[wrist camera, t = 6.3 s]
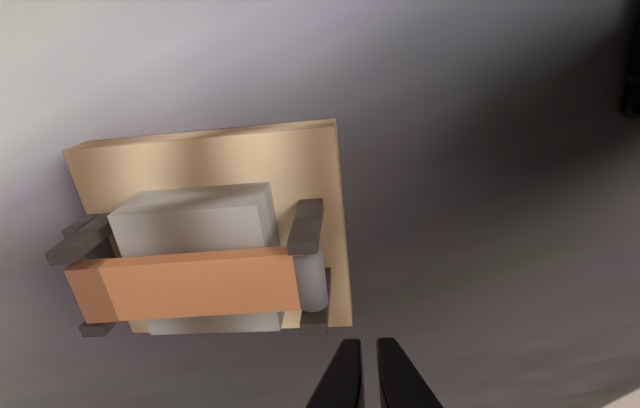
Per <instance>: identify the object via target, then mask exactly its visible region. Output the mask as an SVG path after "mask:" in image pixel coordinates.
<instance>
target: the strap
mask: <svg viewBox="0 0 640 408" xmlns="http://www.w3.org/2000/svg"><path fill="white" fill-rule="evenodd" d="M64 274H65V276H66V278H67V280H68V283H69V285H70V287H71V289H72V292H73V294H74V296H75V298H76V301H77V303H78V305H79V307H80V309H81V312H82V314H83V316H84V318H85V321H86V323H87V324H90V323H107V322H119V321H129V320H146V319H164V318H181V317H198V316H215V315H232V314H249V313H266V312H283V311H300V310H303V311H306V312H318V311H321V310H323V309H324V308H325V307H326V306H327V305H328V302H329V301H328V292H327V284H326V275H325V267H324V258H323V250H322V247H321V246H320V245H319V246H318V253H317V254H311V255H292V256H288V250H287V246H276V247H262V248H248V249H235V250H221V251H207V252H193V253H179V254H166V255H152V256H138V257H124V258H111V259H108V258H103V259H90V260H78V261H77V262H76V263H75V264H71V265H70V266H69V267H68V268H67V269H66V270H64Z"/></svg>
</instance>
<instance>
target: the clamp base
mask: <svg viewBox="0 0 640 408" xmlns="http://www.w3.org/2000/svg"><path fill="white" fill-rule="evenodd" d="M62 153H63V155H64V158H65V160H66V163H67V165H68V168H69V171H70V173H71V176H72V178H73V181H74V183H75V186H76V189H77V191H78V194H79V196H80V199H81V201H82V204H83V207H84V209H85V212H86V214H87V215H86V216H84V217H83V218H81V219H80V220H78V221H77V222H75V223H74V224H72V225H71V226H69V227H68V228H66V229H65V230H63V231H62V233H63V235H64V238H65V240H63V241H62V242H60V243H59V244H58V245H56V246H55V247H53V248H52V249H50V250H49V251H48V252H46V253H45V255H46V257H47V259H48V262H49V264H50V265H58V264H75V263H76V262H77V261H78V260H90V259H103V258H108V259H111V258H124V257H138V256H152V255H166V254H179V253H193V252H207V251H221V250H235V249H248V248H262V247H276V246H287V250H288V256H292V255H311V254H317V253H318V246H319V245H320V246H321V247H322V250H323V258H324V267H325V275H326V284H327V292H328V301H329V302H328V305H327V306H326V307H325V308H324V309H323V310H321V311H318V312H306V311H303V310H300V311H283V312H266V313H249V314H232V315H215V316H198V317H181V318H164V319H146V320H129V321H128V322H129V325H130V328H131V330H132V333H150V335H169V334H201V333H233V332H265V331H280V330H281V328H300V330H301V335H308V334H327V332H328V327H340V326H352V298H351V286H350V275H349V264H348V253H347V241H346V230H345V219H344V207H343V196H342V185H341V173H340V162H339V151H338V139H337V128H336V118H333V119H322V120H311V121H301V122H290V123H279V124H268V125H257V126H246V127H236V128H225V129H214V130H203V131H192V132H182V133H171V134H160V135H149V136H138V137H127V138H117V139H106V140H95V141H86V142H84V143H81V144H79V145H76V146H73V147H71V148H68V149H66V150H63V151H62ZM116 323H117V322H107V323H90V324H87V323H86V321H84V322H83V323H82V324H81V325H80V326H79V329H80V331H81V334H82V336H83V337H95V336H106V335H107V334H108V333H109V331H110V330H111V329H112V328H113V326H114V325H115V324H116Z"/></svg>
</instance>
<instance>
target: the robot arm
mask: <svg viewBox="0 0 640 408" xmlns="http://www.w3.org/2000/svg"><path fill="white" fill-rule="evenodd" d="M625 76H626V83H625V88H624V93H623V97H622V102H621V107H620V113H621V115H622V116H624V117H625V118H629V119H640V16H639V18H638V19H637V21H636V26H635V30H634V35H633V40H632V45H631V50H630V55H629V60H628V64H627V69H626V74H625ZM635 104H637V108H636V110H635V111H634V112H631V109H632V107H633V106H634V105H635ZM376 346H377V362H378V376H379V389H380V402H381V408H443V406H442V405H441V404H440V402H439V401H438V399H437V398H436V396H435V395H434V394H433V392H432V391H431V389H430V388H429V386H428V385H427V384H426V382H425V381H424V379H423V378H422V376H421V375H420V374H419V372H418V371H417V369H416V368H415V367H414V365H413V364H412V362H411V361H410V359H409V358H408V357H407V355H406V354H405V352H404V351H403V349H402V348H401V347H400V345H399V344H398V342H397V341H396V340H395V339H394V338H392V337H389V338H378V339H377V340H376ZM305 408H365V398H364V379H363V363H362V351H361V341H360V339H357V338H355V339H343V340H342V341H341V343H340V345H339V347H338V348H337V350H336V352H335V354H334V356H333V358H332V359H331V361H330V363H329V365H328V367H327V369H326V370H325V372H324V374H323V376H322V378H321V380H320V381H319V383H318V385H317V387H316V389H315V390H314V392H313V394H312V396H311V398H310V400H309V401H308V403H307V405H306V407H305Z"/></svg>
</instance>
